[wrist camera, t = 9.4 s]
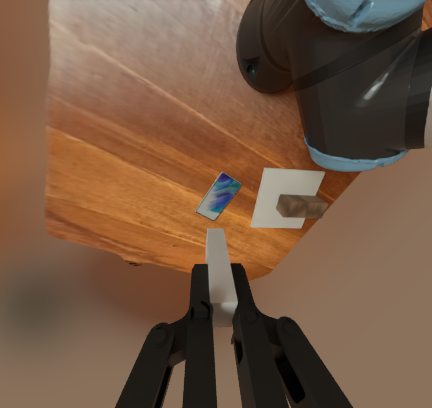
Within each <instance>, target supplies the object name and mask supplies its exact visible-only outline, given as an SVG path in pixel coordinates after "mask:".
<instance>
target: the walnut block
mask: <svg viewBox="0 0 432 408" xmlns="http://www.w3.org/2000/svg"><path fill="white" fill-rule="evenodd" d="M328 204H329V203H327V202H325V201H324V200H322V199H321V198H319V197H318V196H309V195H288V194H280V196H279V199H278V203H277V206H276V210H277V211H278V212H279V213H280V214H281V216H282V217H288V218H322V216H323V214H324V212H325V210H326V208H327V206H328Z"/></svg>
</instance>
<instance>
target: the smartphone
mask: <svg viewBox="0 0 432 408" xmlns="http://www.w3.org/2000/svg"><path fill="white" fill-rule="evenodd" d="M241 186H242V184H241V183H240V182H239V181H237V180H236V179H234V178H233V177H231V176H229V175H228V174H226V173H225V172H221V173H220V175H219V176H218V178H217V179H216V181H215V182H214V184H213V185H212V186H211V188H210V189H209V191H208V192H207V194H206V195H205V197H204V198H203V200H202V201H201V203H200V204H199V205H198V207H197V208H196V210H195V211H196V213H198V214H200V215H202V216H204V217H206V218H208V219H210V220H212V221H215V220H216V218H217V217H218V216H219V214H220V213H221V212H222V211H223V209H224V208H225V207H226V205H227V204H228V203H229V202H230V200H231V199H232V198H233V197H234V195H235V194H236V193H237V191H238V190H239V189H240V187H241Z"/></svg>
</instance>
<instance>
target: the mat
mask: <svg viewBox="0 0 432 408" xmlns="http://www.w3.org/2000/svg"><path fill="white" fill-rule="evenodd" d="M324 174H325V172H324V171H310V170H295V169H280V168H265V167H264V171H263V175H262V180H261V184H260V188H259V192H258V196H257V201H256V205H255V209H254V213H253V217H252V222H251V227H261V228H301V227H302V225H303V223H304V220H305V218H288V217H282V216H281V214H280V213H279V212H278V211H277V210H276V206H277V203H278V199H279V196H280V194H288V195H309V196H315V195H316V193H317V191H318V188H319V186H320V184H321V181H322V179H323V177H324Z"/></svg>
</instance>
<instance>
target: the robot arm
mask: <svg viewBox="0 0 432 408" xmlns="http://www.w3.org/2000/svg"><path fill="white" fill-rule="evenodd" d="M426 1H427V0H251V1H250V2H249V4H248V6H247V8H246V10H245V12H244V15H243V17H242V20H241V22H240V26H239V29H238V34H237V41H236V54H237V61H238V65H239V68H240V71H241V73H242V75H243V77H244V79H245V80H246V82H247V83H248V84H249V85H250V86H251V87H253V88H254V89H256V90H258V91H260V92H265V93H272V92H276V91H279V90H282V89H284V88H286V87H288V86H290V85H291V84H294V88H295V94H296V99H297V103H298V108H299V112H300V117H301V122H302V126H303V131H304V135H305V136H304V141H305V144H306V145H307V146H308V150H309V153H310V157H311V158H312V160H313V161H314V162H315V163H316V164H318V165H319V166H321V167H323V168H326V169H329V170H334V171H343V172H358V171H366V170H372V169H375V167H376V166H381V167H384V166H387V165H390V164H392V163H394V162H396V161H398V160H399V159H401V158H402V157H403V156H404V155H405V154H406V153H407V152H408V151H409V150H410V149H419V148H428V147H431V146H432V28H429V29H427V30H425V31H421V25H422V16H423V6H424V3H425V2H426ZM232 324H233V331H234V333H233V335H232V339H231V344H234V351H235V358H236V365H237V372H238V380H239V387H240V394H241V401H242V408H289V406H288V403H287V399H288V401H289V403H290V406H291V408H353V407H352V405H351V404H350V402H349V401H348V399H347V398H346V396H345V395H344V393H343V392H342V390H341V389H340V387H339V386H338V384H337V383H336V381H335V380H334V378H333V377H332V375H331V374H330V372H329V371H328V369H327V368H326V366H325V365H324V363H323V362H322V360H321V359H320V357H319V356H318V354H317V353H316V351H315V350H314V348H313V347H312V345H311V344H310V342H309V341H308V339H307V338H306V337H305V335H304V334H303V332H302V330H301V329H300V327H299V326H298V325H297V323H296V322H295V321H294V320H292V319H291V318H289V317H280V318H279V319H275V318H272V317H269V316H266V315H264V314H263V313H261V312H260V311H259V310H258V309H257V307H256V306H255V303H254V300H253V297H252V293H251V290H250V286H249V282H248V279H247V276H246V272H245V269H244V267H243V266H242V265H241V263H230V260H229V255H228V250H227V245H226V240H225V234H224V229H214V228H207V239H206V264H195V265H194V267H193V269H192V276H191V292H190V305H189V310H188V312H187V313H186V315H185V316H184V317H183V318H182V319H180V320H178V321H176V322H174V323H171V324H168V323H159V324H157V325H156V326H155V327H153V328H152V329H151V331H150V332H149V334H148V336H147V338H146V340H145V342H144V344H143V347H142V349H141V351H140V353H139V356H138V358H137V360H136V362H135V364H134V366H133V369H132V371H131V373H130V375H129V378H128V380H127V382H126V384H125V386H124V389H123V391H122V393H121V395H120V397H119V400H118V402H117V404H116V406H115V408H162V406H163V403H164V399H165V395H166V392H167V389H168V385H169V382H170V378H171V375H172V371H173V368H174V366H175V365H176V364H178V363H180V362H182V361H184V360H185V359H186V362H185V377H184V392H183V407H182V408H217V396H216V379H215V359H214V342H213V328H214V327H230V326H231V325H232ZM285 395H286V396H285ZM286 397H287V399H286Z"/></svg>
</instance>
